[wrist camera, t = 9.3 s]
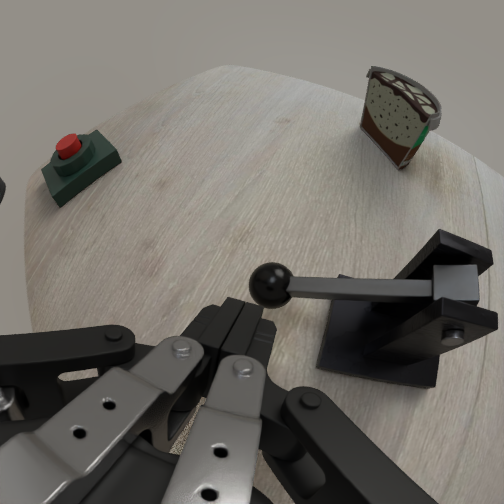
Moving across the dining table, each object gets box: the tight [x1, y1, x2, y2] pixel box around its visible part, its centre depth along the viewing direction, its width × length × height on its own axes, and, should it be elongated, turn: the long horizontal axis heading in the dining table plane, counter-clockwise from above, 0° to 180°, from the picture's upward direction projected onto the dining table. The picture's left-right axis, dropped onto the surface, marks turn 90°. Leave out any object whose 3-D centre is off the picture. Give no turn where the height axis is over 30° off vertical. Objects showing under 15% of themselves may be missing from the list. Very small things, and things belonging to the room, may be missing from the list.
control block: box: [41, 130, 122, 207], centre depth 30 cm, size 10×8×4 cm
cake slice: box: [360, 66, 441, 170], centre depth 30 cm, size 12×6×10 cm, turn 19°
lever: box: [249, 262, 480, 309], centre depth 16 cm, size 15×3×3 cm, turn 72°
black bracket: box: [316, 229, 498, 388], centre depth 16 cm, size 11×8×12 cm
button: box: [56, 134, 81, 160], centre depth 28 cm, size 3×3×2 cm
